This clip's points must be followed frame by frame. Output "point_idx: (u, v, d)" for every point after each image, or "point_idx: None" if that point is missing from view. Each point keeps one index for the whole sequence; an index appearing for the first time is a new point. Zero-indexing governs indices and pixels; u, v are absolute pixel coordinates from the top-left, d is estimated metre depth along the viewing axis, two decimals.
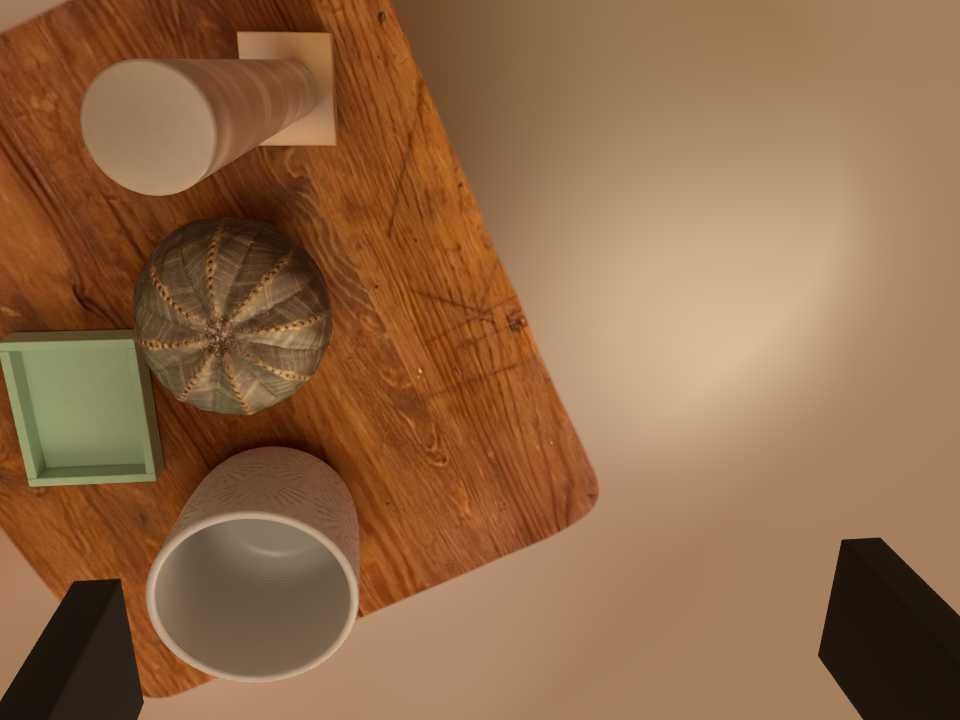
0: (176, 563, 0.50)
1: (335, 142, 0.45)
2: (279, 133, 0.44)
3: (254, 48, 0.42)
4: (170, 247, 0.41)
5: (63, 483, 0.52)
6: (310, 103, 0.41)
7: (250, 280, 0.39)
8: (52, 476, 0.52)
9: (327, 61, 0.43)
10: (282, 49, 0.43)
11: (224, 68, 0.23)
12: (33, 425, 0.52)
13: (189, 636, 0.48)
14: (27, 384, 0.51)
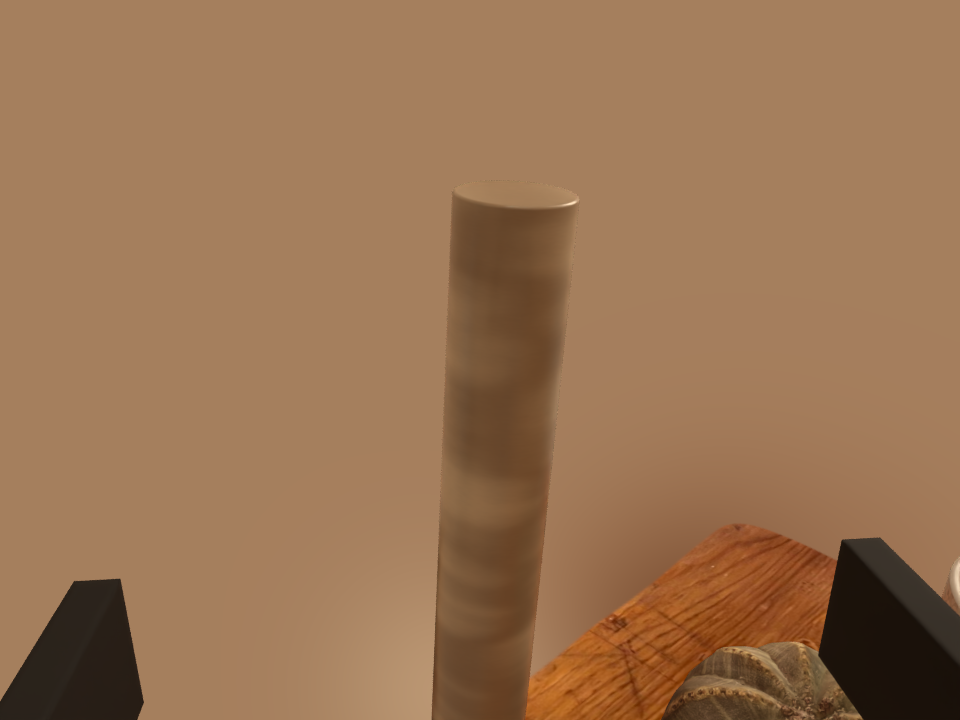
0: None
1: None
2: None
3: None
4: None
5: None
6: None
7: (716, 708, 0.29)
8: None
9: None
10: None
11: None
12: None
13: None
14: None
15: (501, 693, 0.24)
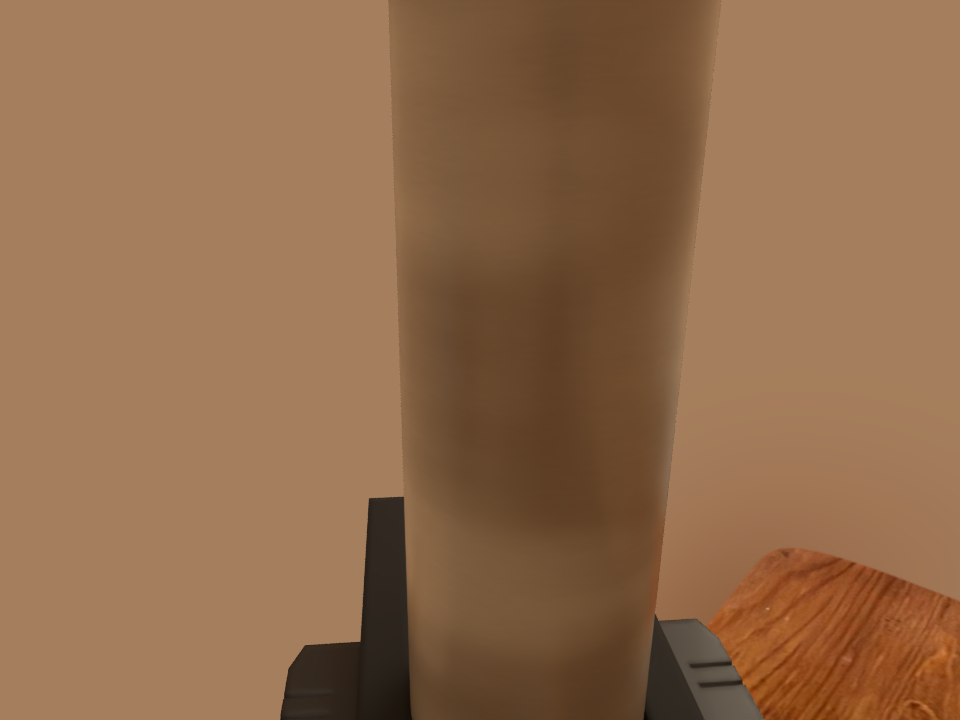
0: None
1: None
2: None
3: None
4: None
5: None
6: None
7: None
8: None
9: None
10: None
11: None
12: None
13: None
14: None
15: None
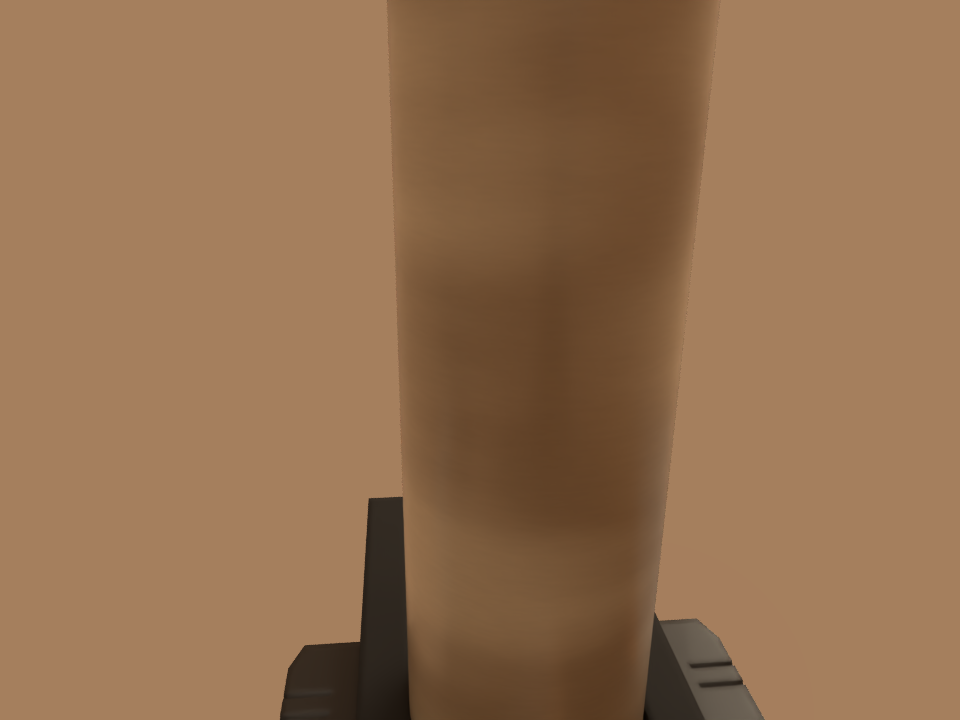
0: None
1: None
2: None
3: None
4: None
5: None
6: None
7: None
8: None
9: None
10: None
11: None
12: None
13: None
14: None
15: None
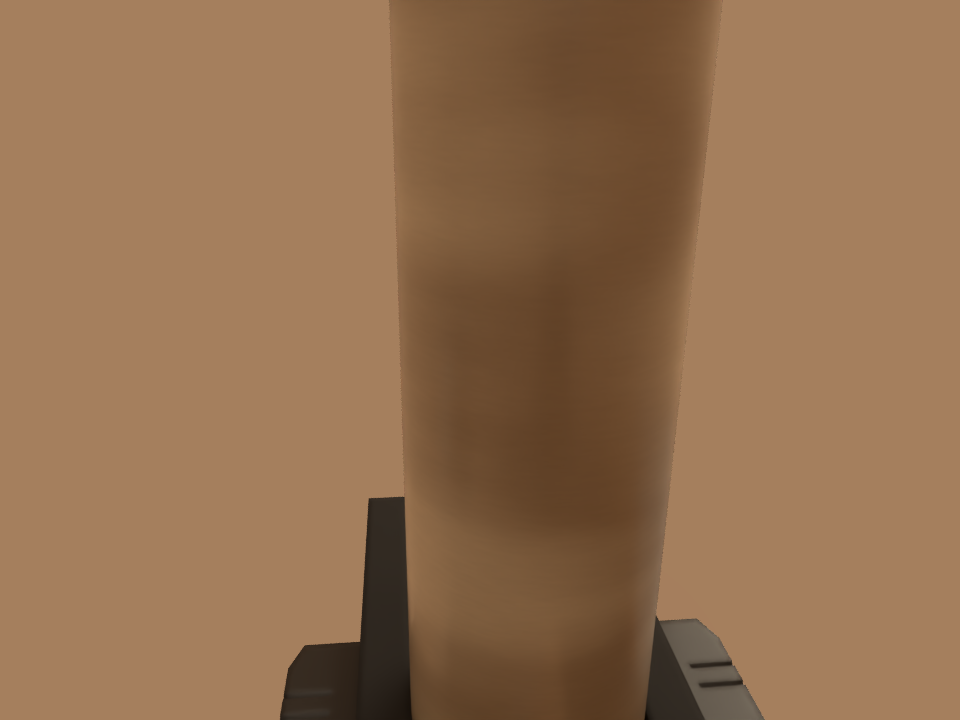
0: None
1: None
2: None
3: None
4: None
5: None
6: None
7: None
8: None
9: None
10: None
11: None
12: None
13: None
14: None
15: None
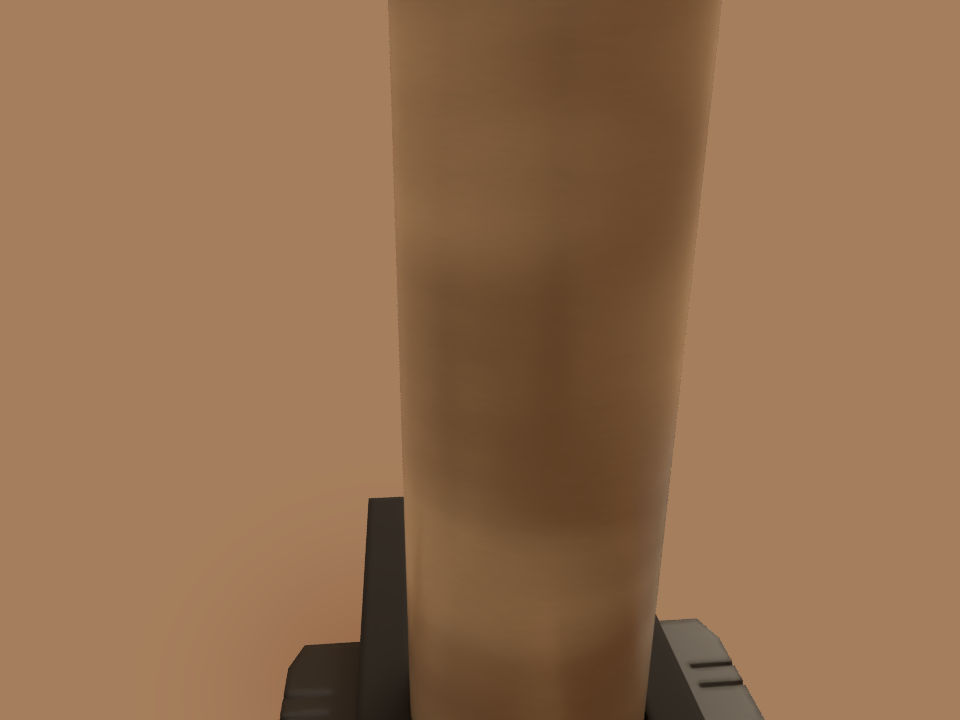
0: None
1: None
2: None
3: None
4: None
5: None
6: None
7: None
8: None
9: None
10: None
11: None
12: None
13: None
14: None
15: None
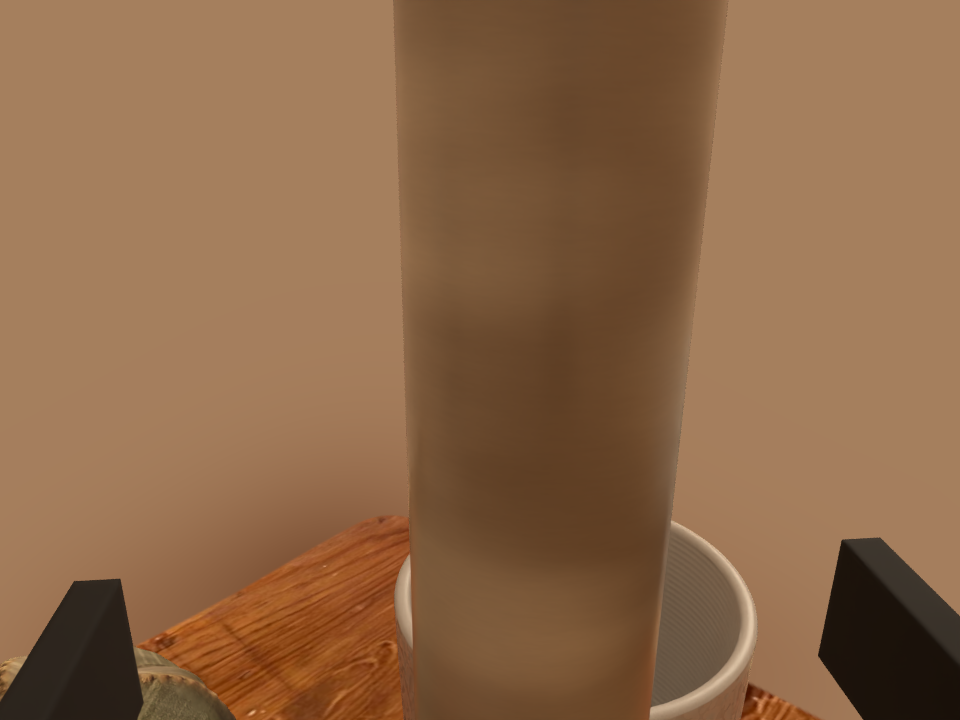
0: None
1: None
2: None
3: None
4: None
5: None
6: None
7: None
8: None
9: None
10: None
11: None
12: None
13: None
14: None
15: None
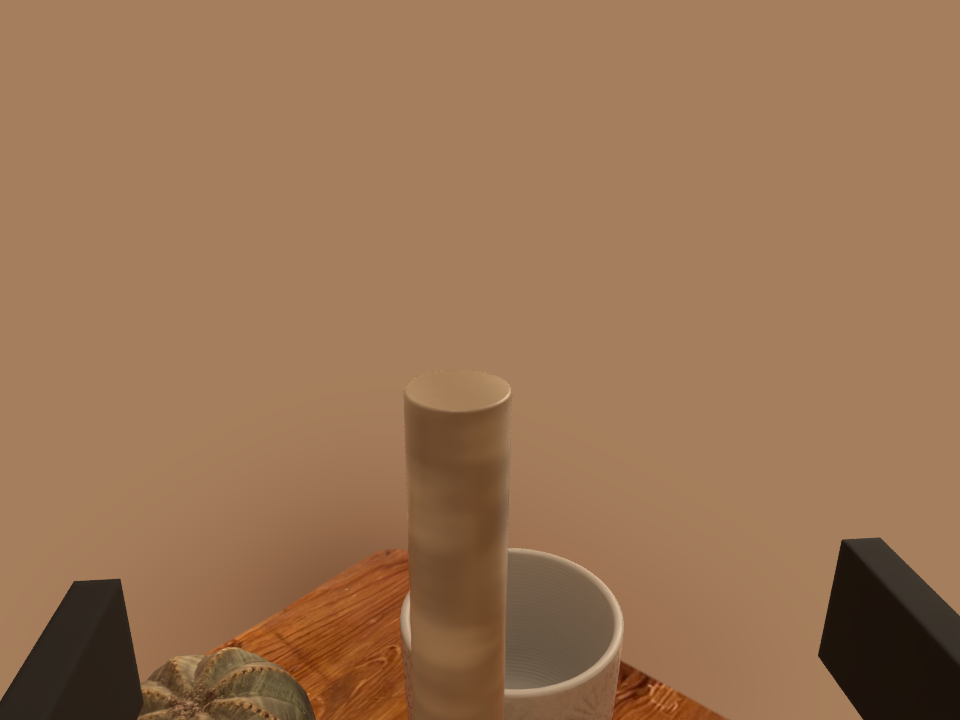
0: None
1: None
2: None
3: None
4: None
5: None
6: None
7: None
8: None
9: None
10: None
11: None
12: None
13: None
14: None
15: None
